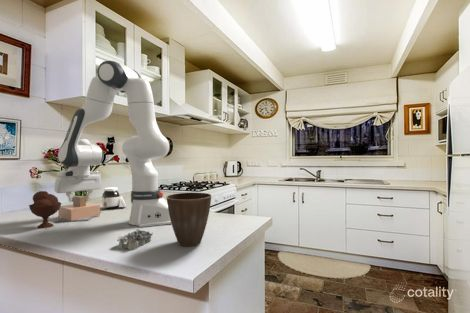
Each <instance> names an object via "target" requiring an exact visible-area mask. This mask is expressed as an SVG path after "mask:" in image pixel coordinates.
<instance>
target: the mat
mask: <svg viewBox="0 0 470 313" xmlns="http://www.w3.org/2000/svg"><path fill="white" fill-rule="evenodd" d="M101 213H102V211H100V214H101ZM95 217H96V216H93V217H88V218H83V219H77V220H72V221H71V220H67V219H64V218H60V217H59V219H56V220H54V221H53V223H69V222H70V223H73V222H90V220H92V219H93V218H95Z"/></svg>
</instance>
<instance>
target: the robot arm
mask: <svg viewBox="0 0 470 313" xmlns="http://www.w3.org/2000/svg"><path fill="white" fill-rule="evenodd" d="M96 74H97V75H96V76H95V75H94V77H92V78H91V81H90V83H89V86H88V89H87V93H86V97H85V100H84V101H85V102H84V103H83V105H82V106H81V107H80V108H78V109H77V110H75V112H74V114H73V115H72V118H71V121H70V123H69V127H68V129H67V131H66V134H65V137H64V141H63V142H62V144H61V146H60V147H59V150H58V151H57V160H58V161H59V163H60V164H61V165H62V166H64V167H66V169H63V170H60V171H58V172H57V173H56V179H55V182H54V192H55V193H56V194H64V193H65V195H66V196H67V198H68V202H69V203H71V202H72V203H73V201H74V198H73V196H71V195H72V193H73V192H74V193H75V192H85V191H87V192H86V193H87V194H86V195H84V197H86V201H87V200H90V199H91V194H92V193H93V190H94V191H95V190H100V189H101V188H102V178H101V177H102V174H101V172H100V171H98V170H97V171H96V170H95V171H91V167H90V166H97V165H100V164H101V163H103V160H104V158H105V157H104V153H105V152H104V151H103V149H102V147H100V146H99V145H96V144H93V143H91V142H90V140H89V139H86V138H81V136H82V134H83V130H84V128H86V126H88V125H90V124H92V123H97V122H101V121H103V120H106V119H107V118H108V117H110V115H112V111H113V108H114V101H115V97H116V94H117V93H118V92H120V93H123V94H124V93H125V95H126V99H127V107H128V108H127V110H128V119H129V123H130V124H131V125H132V126H133V127H134V129H135V131H136V133H137V135H133V136H130V137H128V138H127V139H125V140H124V141H123V142H122V145H121V148H122V153H123V155H125V157H126V158H127V161H128V164H129V167H130V170H131V171H130V172H131V184H132V188H131V190H130V192H131V193H130V203H131V210H130V214H129V220H128V224H129V225H132V226H137V227H140V228H143V227H144V228H145V227H154V226H162V225H164V226H165V225H172V223H171V219H170V215H169V210H168V204H167V199H166V198H164V192H163V190H160V189H159V172H158V171H157V169H155V167H154V165H153V162H152V160H158V159H162V158H164V157H166V156H167V155H168V153H169V151H170V142H169V140H168V139H167V137H166V136H164V135H163V134H162V132H161V130H160V128H159V125H158V123H157V118H156V110H155V101H154V100H155V99H154V95H153V94H154V93H153V90H152V87H151V86H152V85H151V83H150V82H149V81H148V80H147V79H145V78H143V77H142V76H141V75H140V73H138V72H137V71H136V70H135V69H133V68H130V67H129V66H127V65H126V64H123V63H120V62H117V61H115V60H105V61H102V62H101V63H99V65H98V67H97V73H96Z"/></svg>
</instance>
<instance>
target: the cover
mask: <svg viewBox="0 0 470 313" xmlns="http://www.w3.org/2000/svg"><path fill="white" fill-rule="evenodd" d="M72 197H73V198H74V201H72V204H68V205H61V207H60V209H59V210H58V211H57V212H58V218H59V219H60V218H64V219H67V220H71V221H72V220H77V219H83V218H88V217H93V216H95V217H97V216H98V217H99V216H101V213H100V212H101V205H100V204H97V203H90V202H87V200H86V197H85V195H84V196H83V195H75V196H74V195H73V196H72ZM93 218H94V217H93Z"/></svg>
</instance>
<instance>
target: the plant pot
mask: <svg viewBox="0 0 470 313" xmlns="http://www.w3.org/2000/svg"><path fill="white" fill-rule="evenodd" d="M166 201H167V204H168V210H169V215H170V219H171V223H172V224H171V227H172V230H173V233H174V235H175V238H176V241H177V243H178V245H179V246H182V247H188V248H189V247H195V246H198V245H200V244H201V243H202V241H203V240H202V239H203V237H204V235H205V231H206V227H207V224H208V220H209V214H210V210H211V209H210V208H211V204H212V203H211V202H212V194H210V193H206V192H180V193H173V194H168V195H167V196H166Z"/></svg>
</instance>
